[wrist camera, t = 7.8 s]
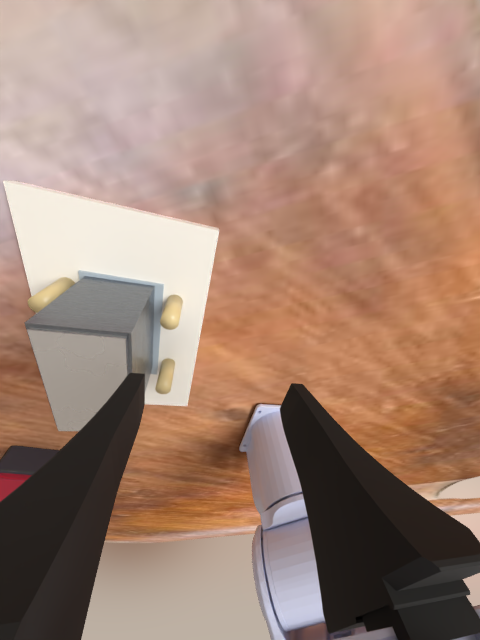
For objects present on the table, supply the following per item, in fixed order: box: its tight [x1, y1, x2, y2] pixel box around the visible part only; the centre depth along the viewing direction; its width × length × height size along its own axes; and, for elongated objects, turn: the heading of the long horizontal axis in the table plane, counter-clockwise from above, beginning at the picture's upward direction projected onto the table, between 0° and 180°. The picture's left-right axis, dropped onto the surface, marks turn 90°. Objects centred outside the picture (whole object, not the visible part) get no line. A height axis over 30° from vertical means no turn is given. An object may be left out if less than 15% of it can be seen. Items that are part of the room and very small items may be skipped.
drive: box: [25, 276, 155, 431], centre depth 15 cm, size 8×4×6 cm, turn 167°
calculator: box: [0, 446, 59, 501], centre depth 29 cm, size 11×4×15 cm
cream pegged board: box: [3, 181, 219, 406], centre depth 17 cm, size 18×12×4 cm, turn 166°
